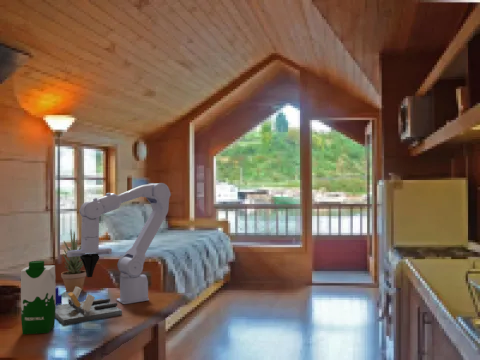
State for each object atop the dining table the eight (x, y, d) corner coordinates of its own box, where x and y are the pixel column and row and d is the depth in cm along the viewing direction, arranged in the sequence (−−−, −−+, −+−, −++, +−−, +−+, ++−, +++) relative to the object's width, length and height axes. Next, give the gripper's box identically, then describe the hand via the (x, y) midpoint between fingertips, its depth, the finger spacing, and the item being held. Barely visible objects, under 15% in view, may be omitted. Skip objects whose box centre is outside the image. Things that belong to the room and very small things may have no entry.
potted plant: (69, 287, 190) (69, 227, 190) (91, 288, 188) (90, 227, 188) (55, 293, 180) (55, 229, 180) (77, 294, 178) (77, 229, 178)
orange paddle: (77, 302, 152) (71, 291, 151) (80, 305, 149) (74, 293, 148) (74, 304, 151) (67, 294, 150) (77, 307, 149) (70, 296, 147)
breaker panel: (101, 302, 165) (101, 294, 165) (122, 315, 148) (122, 306, 149) (48, 310, 155) (48, 302, 155) (64, 325, 138) (64, 315, 138)
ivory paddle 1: (73, 299, 158) (78, 287, 159) (76, 302, 155) (81, 289, 156) (69, 298, 157) (75, 286, 159) (72, 300, 155) (78, 288, 156)
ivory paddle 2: (85, 308, 147) (91, 295, 148) (89, 311, 144) (95, 297, 145) (82, 307, 146) (87, 294, 147) (85, 310, 143) (91, 296, 144)
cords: (109, 301, 160) (109, 298, 160) (117, 306, 154) (117, 303, 154) (87, 304, 156) (87, 301, 156) (94, 309, 149) (94, 306, 149)
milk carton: (17, 335, 129) (17, 263, 129) (27, 326, 138) (27, 258, 138) (51, 334, 130) (50, 262, 131) (58, 324, 139) (58, 257, 140)
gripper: (107, 234, 166) (106, 272, 166) (65, 236, 158) (64, 276, 158) (113, 236, 160) (113, 276, 160) (70, 238, 152) (69, 280, 152)
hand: (89, 276), depth 159 cm, fingers closed
